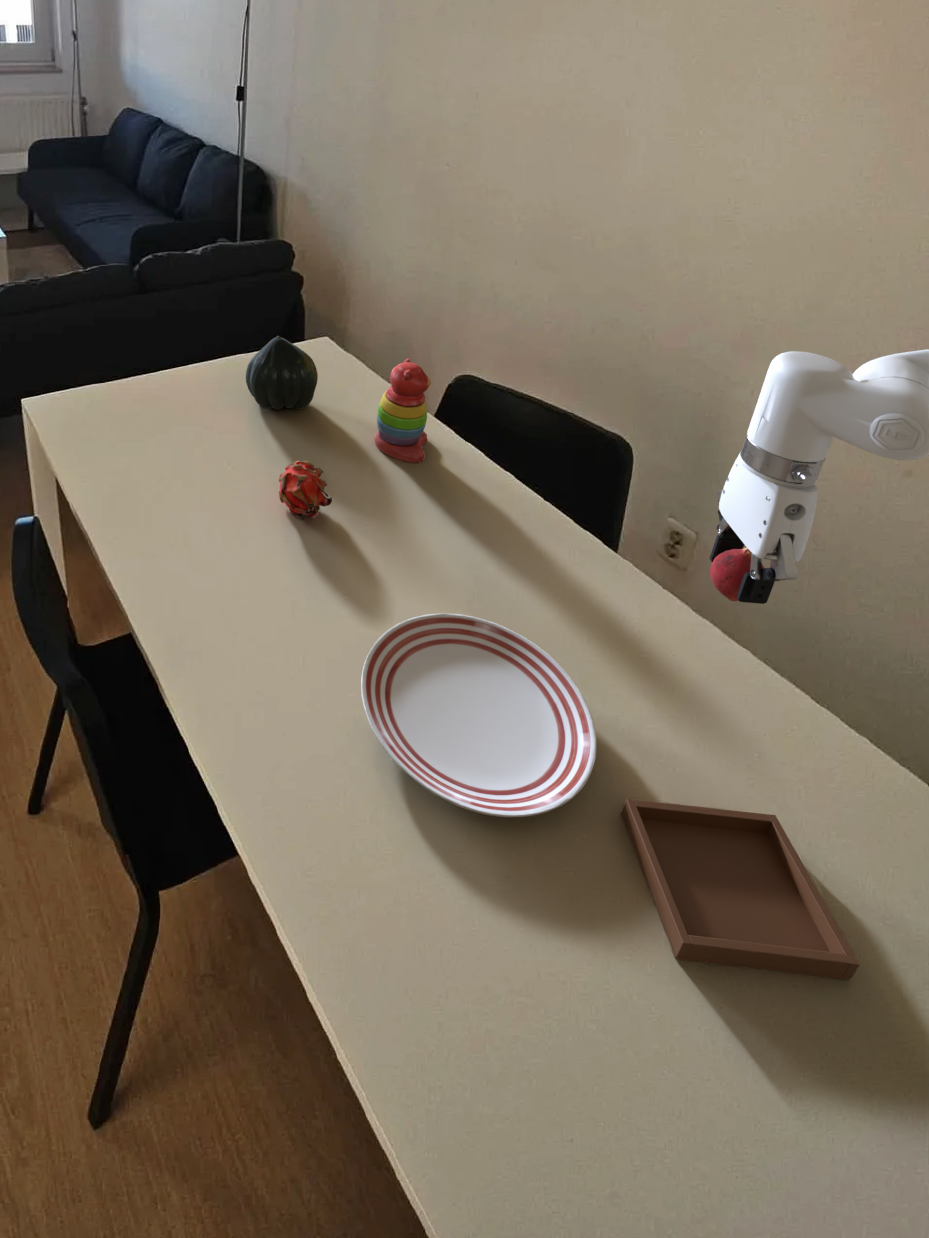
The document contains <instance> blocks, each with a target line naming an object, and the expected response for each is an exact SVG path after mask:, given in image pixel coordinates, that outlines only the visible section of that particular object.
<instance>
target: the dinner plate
mask: <svg viewBox="0 0 929 1238" xmlns="http://www.w3.org/2000/svg"><path fill="white" fill-rule="evenodd" d="M360 691H361V701H362V705H363V708H364V712H365V716H366V718H367V721H368V723H369V725H370V727H371V730H372V732H373V734H374V735H375V738H376V739H377V740H378V742H379V744H380V745H381V746H382V748H383V750H384V751H385V752H386V753H387V755H388V756H389V757H390V758H391V759H392V761H394V763H395V764H396V765H397V766H398V767H399V768H400V769H401V770H402V771H403V772H404V773H405V774H407V775H408V776H409V777H410V778H411V779H412V780H414V781H415V782H416V783H418V784H419V785H420V786H422V787H423V788H424V789H426V790H427V791H428V792H430V793H432V794H433V795H435V796H437V797H438V798H440V799H442V800H444V801H446V802H448V803H450V804H453V805H454V806H457V807H459V808H462V809H464V810H467V811H471V812H474V813H476V814H477V813H478V814H482V815H487V816H493V817H498V818H500V817H502V818H525V817H532V816H537V815H541V814H545V813H548V812H550V811H552V810H556V809H557V808H559V807H562V806H563V805H565V804H566V803H568V802H569V801H571V800H572V799H573V798H574V797H575V796H576V795H578V794H579V793H580V792H581V791H582V789H583V788H584V787H585V785H586V784H587V782H588V781H589V778H590V777H591V774H592V772H593V769H594V767H595V763H596V757H597V747H598V746H597V733H596V728H595V723H594V719H593V716H592V714H591V711H590V708H589V705H588V704H587V701H586V699H585V697H584V695H583V694H582V692H581V690H580V689H579V687H578V686H577V684H576V683H575V682H574V680H573V678H571V676H570V675H569V673H568V672H567V671H566V670H565V668H563V666H561V664H560V663H559V662H558V661H557V660H555V659H554V658H553V657H552V656H551V655H550V654H549V653H548V652H547V651H545V650H544V649H543V648H541V647H540V646H539V645H537V644H536V643H534V642H533V641H531V640H530V639H529V638H527V637H525V636H524V635H521V634H519V633H517V632H516V631H514V630H512V629H510V628H508V627H505V626H503V625H501V624H499V623H496V622H493V621H490V620H487V619H485V618H484V619H483V618H481V617H476V616H472V615H466V614H460V613H430V614H422V615H417V616H414V617H412V618H408V619H405V620H403V621H401V622H399V623H397V624H394V626H392V627H390V628H389V629H387V630H386V631H385V632H384V633H383V634H381V636H380V637H379V638H378V639H377V640H376V641H375V642H374V644H373V646H372V647H371V648H370V650H369V652H368V654H367V655H366V658H365V660H364V663H363V667H362V672H361V680H360Z"/></svg>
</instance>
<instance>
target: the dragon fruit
mask: <svg viewBox="0 0 929 1238" xmlns="http://www.w3.org/2000/svg"><path fill="white" fill-rule="evenodd" d="M284 470H285V471H284V472H283V473H280V474H279V477H278V482H279V491H278V497H279V501H280V502H281V503H282V504H285V506H286V507H287V508H288V509H289V511H290V512H291V513H292V515H293V516H295V517H296V518H297V519H300V520H301V521H304V517H303V516H304V515H306V516H307V517H309V518H310V519H314V518H316V517H317V516H318V515H320V512H319V511H320V509H321V508H320V506H321V507H323V508H324V507H328V506H330V505H331V504H332V502H333V497H329V494H328V493H327V492H326V491H325V488H326V487H328V483H327V482H326V481H325V480H323V479H322V478H321V476H322V475H323V473H324V470H323V469H322V468H321V467H315V465H314V464H313V463H312V462H311V461H309V460H301V459H298V460H296V461H295V462H294V463H293V464H292V463H291V464H288V465H287V466H285V468H284Z"/></svg>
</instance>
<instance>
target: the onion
mask: <svg viewBox="0 0 929 1238" xmlns="http://www.w3.org/2000/svg"><path fill="white" fill-rule="evenodd" d="M751 553H752V552H751V551H750V550H749V549H748V548H747V547H746V546H745V547H743V549H732V550H727V551H725V552H723V553H721V554H719V555H718V556H717V557H715V559H714V561H713V563H712V562H711V565H710V568H709V576H710V580H711V583H712V585H713V586H714V588H715V589H716V590H717V591H718V592H719V593H720V594H721V595H722V596H724V597H725V598H726V599H728V600H729V601H731V602H740V601H739V600H738V599H737V594H738V591H739V588H740V585H741V583H742V580H743V577H744V574H745V572H746V573H747V572H749V573H750V566H751ZM762 568H765V566H764V564H762Z"/></svg>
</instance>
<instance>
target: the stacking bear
mask: <svg viewBox="0 0 929 1238" xmlns="http://www.w3.org/2000/svg"><path fill="white" fill-rule="evenodd" d="M389 381H390V386H389V388H387V389H386V390H385V391H384V392H383V395H382V396H381V399H380V402H379V404H378V407H377V411H376V413H377V414H376V425H377V432H376V434H375V436H374V445H375V446H376V447H377V449H378V450H380V451H381V452H383V453H385V454H386V455H388V456H390V457H392V458H394V459H397V460H401V461H404V462H409V463H412V464H413V463H414V464H418V463H422V462H423V461H424V459H425V458H426V457H425V456H426V454H425V451H424V449H423V446H424V445H425V444H426V443H427V442H428V434H427V433H426V431H425V428H426V425H427V421H428V410H427V402H426V395H425V392H426V391H427V390H428V389H429V388H430V385H431V384H432V383H431V379H430V377H429V376H428V375H427V374H426V373H425V371H424V370H423V368H422V367H421V366H420V365H419V364H418V363H415V362H411V358H406V359H404V361H403V362H400V363H398V364H397V365H396V366H394V367H393V368H392V370H391V372H390V380H389Z"/></svg>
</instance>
